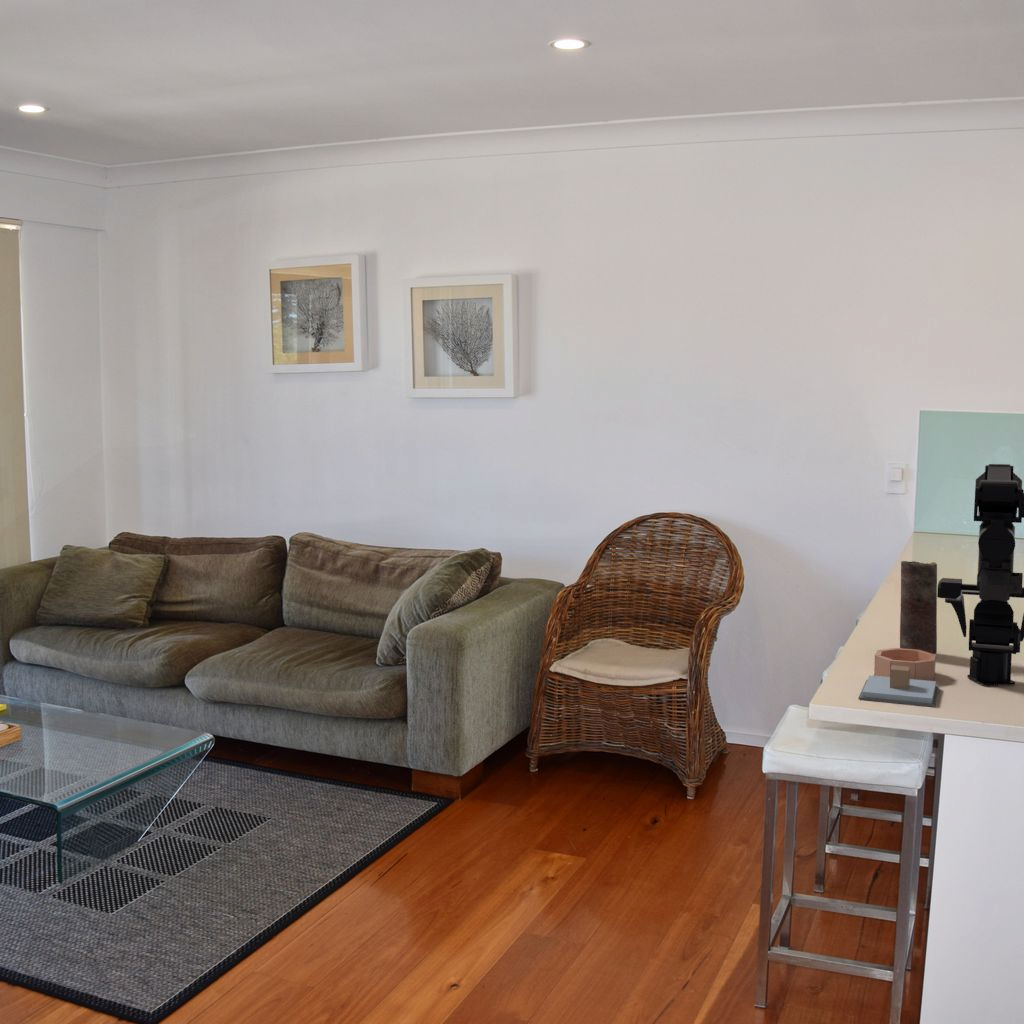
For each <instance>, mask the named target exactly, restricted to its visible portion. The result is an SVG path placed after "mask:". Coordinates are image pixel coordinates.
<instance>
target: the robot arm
mask: <svg viewBox="0 0 1024 1024" xmlns="http://www.w3.org/2000/svg"><path fill="white" fill-rule="evenodd" d="M984 467H985V468H984V469H985V470H984V472H983V473H982V474H980V475H979V476H978V477H977V478H976V479H975V487H974V503H973V505H974V507H973V522H981V523H980V524H979V532H978V533H979V534H978V541H977V542H978V543H977V544H978V556H977V557H978V559H977V574H976V584H974V583H971V584H970V583H963V579H962V578H950V577H942V578H941V579H939V580H938V582H937V599H938V598H939V599H944V602H945V604H951V606H952V608H953V609H954V611H955V614H956V617H957V619H958V622H959V627H960V629H961V632H962V636H963V638H967V619H966V609H965V608H966V606H965V599H964V595H972V596H979V597H978V598H979V599H980V601H979V602H978V603H976V605H975V607H974V609H973V618H972V619H971V618H969V625H968V627H969V628H968V651H972V656H970V658H969V674H967V678H968V679H969V680H972V681H973V682H975V683H978V684H980V685H981V686H983V687H984V686H985V687H986V686H989V687H990V686H991V687H992V686H1008V685H1010V686H1011V685H1016V681H1015V680H1012V677H1011V676H1012V659H1013V658H1012V655H1017V654H1018V653H1021V642H1023V641H1024V613H1023V614H1022V619H1021V625H1020V627H1019V625H1018V621H1017V622H1015V621H1014V620H1015V619H1014V614H1015V613H1014V610H1013V607H1012V605H1011V604H1010V603H1009V602H1008V601H1009V600H1010V599H1011V598H1017V599H1018V598H1020V599H1024V586H1023V582H1024V581H1023V577H1024V575H1023V572H1014V563H1015V562H1014V561H1015V560H1014V558H1015V547H1016V537H1015V534H1016V533H1015V532H1016V526H1015V525H1014V523H1015V524H1016V523H1017V524H1019V523H1020V524H1022V522H1023V520H1022V519H1024V489H1023V480H1022V479H1021V478H1020V477H1019V476H1018V475H1017V474H1016V473H1014V465H1011V464H1010V463H1009V464H1008V463H1007V464H1005V463H1004V464H1003V463H989V464H988V465H987V464H986V465H985V466H984Z"/></svg>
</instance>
